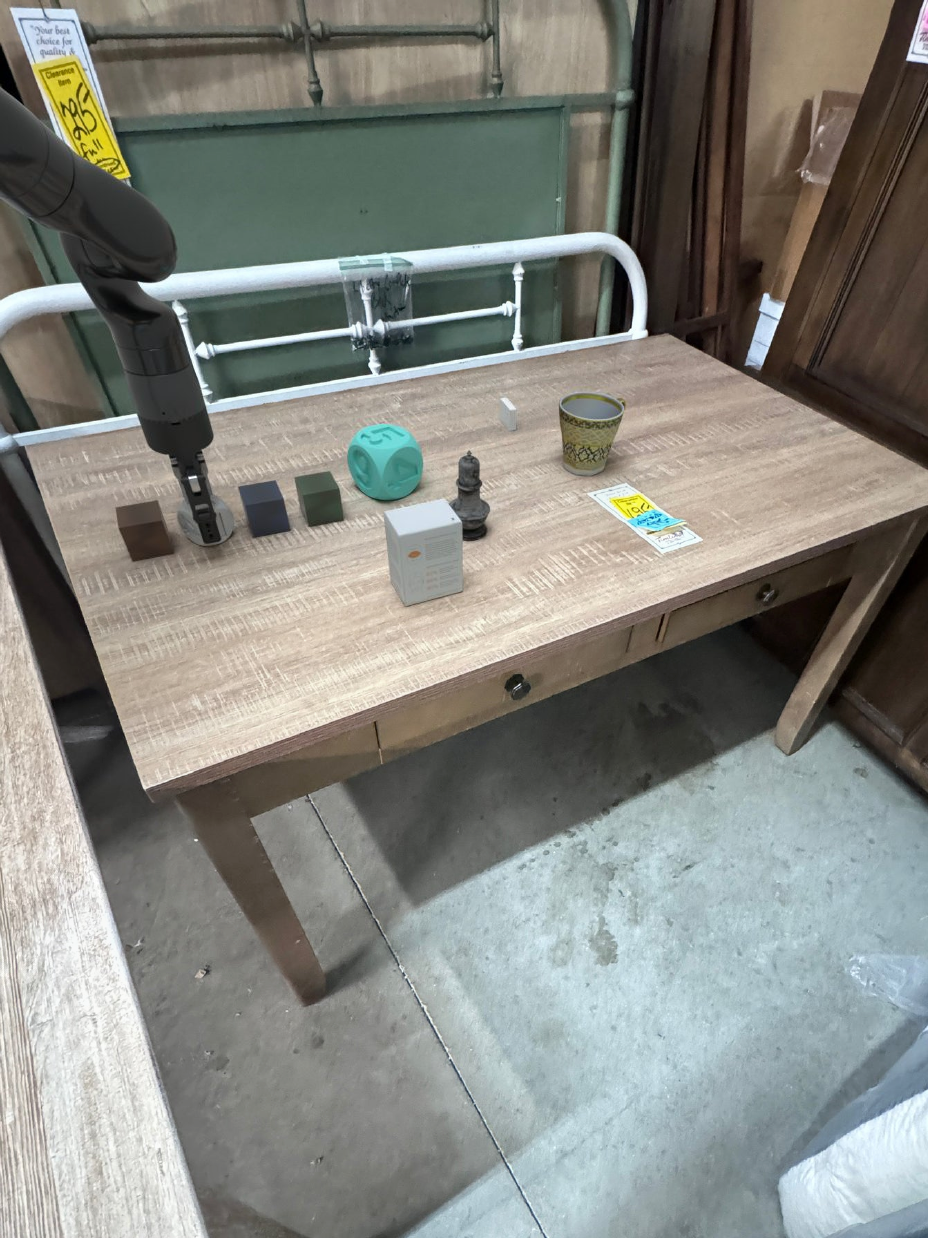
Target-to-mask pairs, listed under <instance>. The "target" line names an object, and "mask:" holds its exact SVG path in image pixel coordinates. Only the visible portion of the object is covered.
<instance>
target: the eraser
mask: <svg viewBox="0 0 928 1238" xmlns="http://www.w3.org/2000/svg"><path fill="white" fill-rule="evenodd" d="M498 412H499V413H498V415H499V417H498V418H499V420H500V422H501V423H502V424H503V425H504V426H505V427H506V429H507V430H508V432H512V431H516V430H517V415H518V408H516V406H515V405H514V404H513V403H512V402H511V401H510V399H508V397H500V398H499V411H498Z"/></svg>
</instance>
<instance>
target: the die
mask: <svg viewBox="0 0 928 1238" xmlns="http://www.w3.org/2000/svg"><path fill="white" fill-rule="evenodd" d="M211 503H212V506H213V509H215V512H216V515H217V517H216V519H217V520H216V523H217V526H218V529H219V532H220V536H221V541H219V542H215V543H210V544H205V543H204V542H203V539H202V536H201V533H200V530H199V527H198V524H197V523H196V522H195V521H194V520H193V516H192V510H191V507H190V504H189V502H187V501H185V499H183V500H182V502H181V503H180V505H179V506H178V509H177V512H176V515H177V516H176V519H177V523H178V525H179V528H180V529H181V530H182V532H183V533H184V534H185V536H186V537H187V538H188V539H189V540H190V541H192V542H193V543H194V544H197V545H199V546H204V547H211V546H212V547H213V546H217V545H219V544H222V543H224V542H226V541H227V540H228V539H229V537H230V536H231V535H232V533H233V531H234V527H235V518H234V514H233V512H232V509H230V507H229V505H228V504H227V503H226V502H225V501H224V500H223V499H222V498H221V497H220V496H218V495H216V494H214V493H213V497H212V498H211ZM195 508H196V511H197V509H203V508H209V506H208V505H207V504H201V505H196V506H195Z"/></svg>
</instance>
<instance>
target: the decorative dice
mask: <svg viewBox="0 0 928 1238" xmlns="http://www.w3.org/2000/svg"><path fill="white" fill-rule="evenodd" d="M346 460H347V466H348V470H349V472H350V475H351V477H352V479H353V482H355V485H356V486H357V487H358V489H359V490H360V491H361V492H362V493H363V494H364V495H366V496H368V497H369V498H372V499H375V500H379V501H394V500H399V499H402V498H405V497H406V496H409V494H411V493H412V492H413V491H414V490H415V489H416V487H417V486H418V485H419V482H420V481H421V478H422V475H423V471H424V458H423V453H422V450H421V448H420V445H419V443H418V442H417V440H416V438H415V437H414V436H413V435H412V434H411V432H409V431H408V430H407V429H405V428H404V427H403V426H399V425H395V424H390V423H378V424H372V425H368V426H365V427H363V428H361V429H360V430H359V431H358V432H357V433H356V434H355V435H354V436H353V438H352V439H351V442H350V443H349V445H348V449H347V454H346Z"/></svg>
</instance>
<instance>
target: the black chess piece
mask: <svg viewBox="0 0 928 1238" xmlns="http://www.w3.org/2000/svg"><path fill="white" fill-rule="evenodd" d="M457 465H458V467H457V468H458V470H457V471H458V473H457V474H458V478H457V479H456V480H455V486H456V487H457V497H456V498H454V499H453V500H451V501H450V502H449V503H448V504H449V505H450V507H451V508H452V509H453V511H454V512H455V513H456V515H457V516H458V517H459V519H460V520H461V521H462V537H463V541H465V542H474V541H478V540H481V539H483V538H485V537H486V536H487V534H488V527H487V525H486V524H485V523H486V520H487V518H488V516H489V514H490V512H491V506H490V505H489V503H488V501H486V500H484V499H483V498H481V488H482V487H483V481H482V480H481V479H480V478H481V477H480V475H481V463H480V459H478V457H476V456H474V455H473V452H471V450H470V449H469V450H467V452H466V455H462V457H460V458H459V460H458V464H457Z"/></svg>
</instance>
